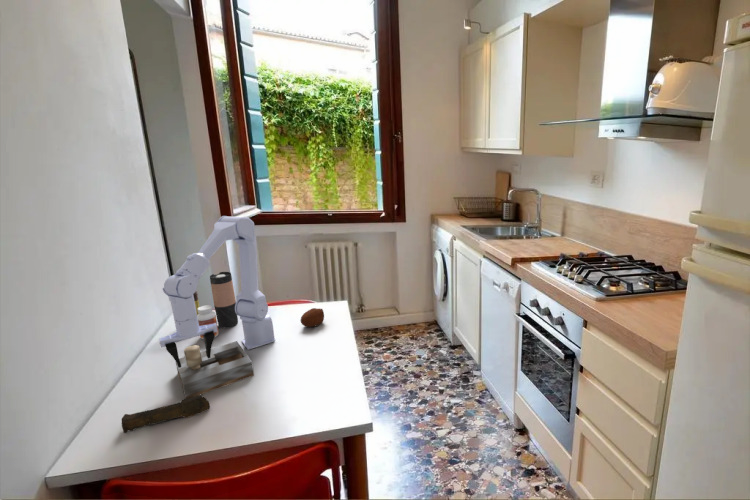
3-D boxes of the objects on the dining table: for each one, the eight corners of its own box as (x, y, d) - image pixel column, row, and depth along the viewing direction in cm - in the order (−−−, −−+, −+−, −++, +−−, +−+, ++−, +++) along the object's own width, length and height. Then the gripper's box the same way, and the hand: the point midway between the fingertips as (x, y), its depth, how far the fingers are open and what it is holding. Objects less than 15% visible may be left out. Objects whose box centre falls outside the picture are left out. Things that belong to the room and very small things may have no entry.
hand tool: (122, 436, 89) (117, 419, 87) (127, 425, 92) (123, 409, 91) (209, 416, 94) (206, 400, 93) (210, 407, 98) (207, 391, 96)
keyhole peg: (204, 370, 113) (199, 342, 110) (208, 377, 109) (203, 349, 106) (186, 376, 110) (180, 348, 108) (189, 384, 106) (183, 355, 104)
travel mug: (234, 328, 142) (226, 277, 137) (214, 329, 142) (205, 278, 137) (241, 319, 149) (234, 271, 144) (222, 320, 150) (214, 272, 145)
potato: (328, 325, 140) (327, 309, 138) (304, 332, 136) (302, 315, 134) (321, 319, 146) (320, 303, 144) (298, 325, 142) (296, 309, 140)
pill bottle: (220, 336, 136) (215, 308, 133) (202, 341, 133) (196, 312, 130) (216, 330, 141) (212, 302, 138) (199, 335, 138) (193, 307, 135)
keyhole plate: (238, 353, 123) (236, 340, 122) (253, 375, 110) (251, 361, 109) (177, 373, 114) (175, 359, 112) (186, 399, 101) (183, 384, 100)
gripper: (210, 306, 112) (217, 347, 115) (154, 319, 104) (164, 364, 107) (215, 313, 106) (223, 357, 109) (157, 328, 98) (167, 375, 101)
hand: (194, 361), depth 108 cm, fingers open, 7 cm apart
